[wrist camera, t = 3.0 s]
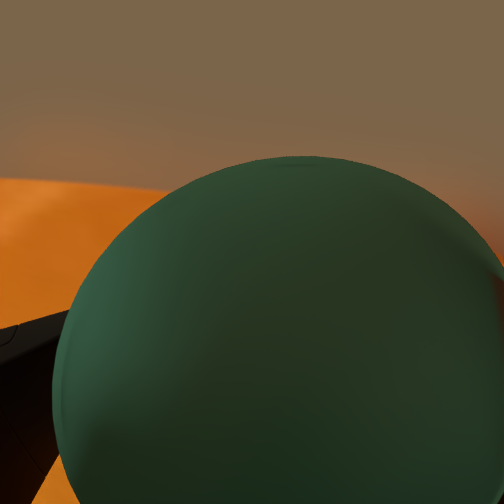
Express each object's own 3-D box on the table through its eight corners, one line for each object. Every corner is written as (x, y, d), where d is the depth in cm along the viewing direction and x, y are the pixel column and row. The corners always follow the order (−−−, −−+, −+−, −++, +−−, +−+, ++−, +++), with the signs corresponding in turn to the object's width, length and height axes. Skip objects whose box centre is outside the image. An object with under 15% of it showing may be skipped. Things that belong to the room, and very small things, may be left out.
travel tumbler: (334, 396, 14) (572, 384, 2) (256, 454, 13) (264, 660, 1) (276, 324, 15) (341, 103, 3) (199, 379, 14) (-7, 323, 2)
